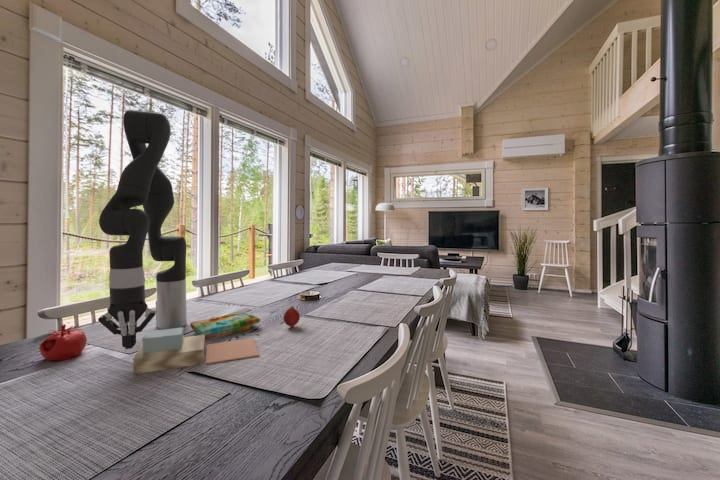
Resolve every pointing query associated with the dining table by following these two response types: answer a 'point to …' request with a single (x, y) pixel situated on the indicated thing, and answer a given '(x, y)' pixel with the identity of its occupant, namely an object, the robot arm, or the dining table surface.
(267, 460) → the dining table surface
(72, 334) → the red tomato
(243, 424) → the dining table surface
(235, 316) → the puzzle game
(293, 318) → the onion
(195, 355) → the birch deck
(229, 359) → the tan flat square slab
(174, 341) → the pale teal block
